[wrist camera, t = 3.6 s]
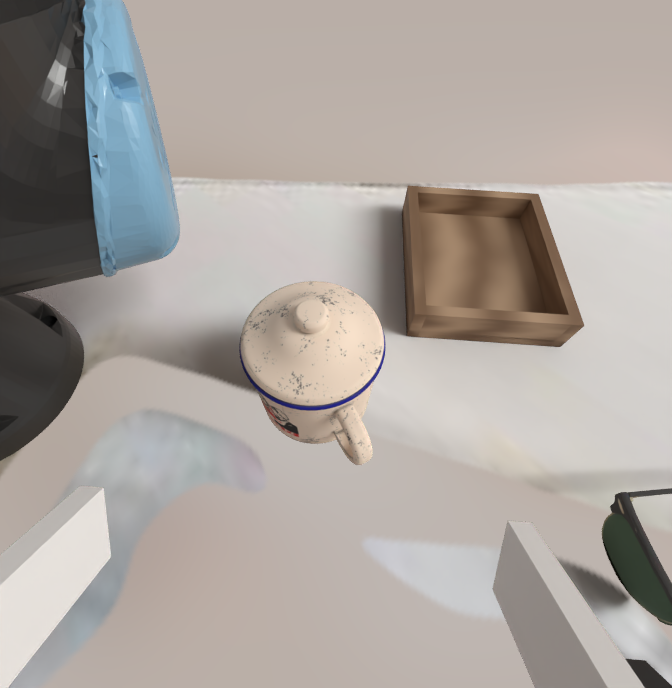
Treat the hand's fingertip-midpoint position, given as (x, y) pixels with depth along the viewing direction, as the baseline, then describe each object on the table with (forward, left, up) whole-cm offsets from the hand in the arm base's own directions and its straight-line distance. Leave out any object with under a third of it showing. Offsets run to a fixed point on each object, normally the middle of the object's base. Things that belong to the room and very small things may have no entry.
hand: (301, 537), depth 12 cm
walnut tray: (+14, +26, -14) cm, 32 cm away
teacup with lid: (0, +10, -14) cm, 17 cm away
